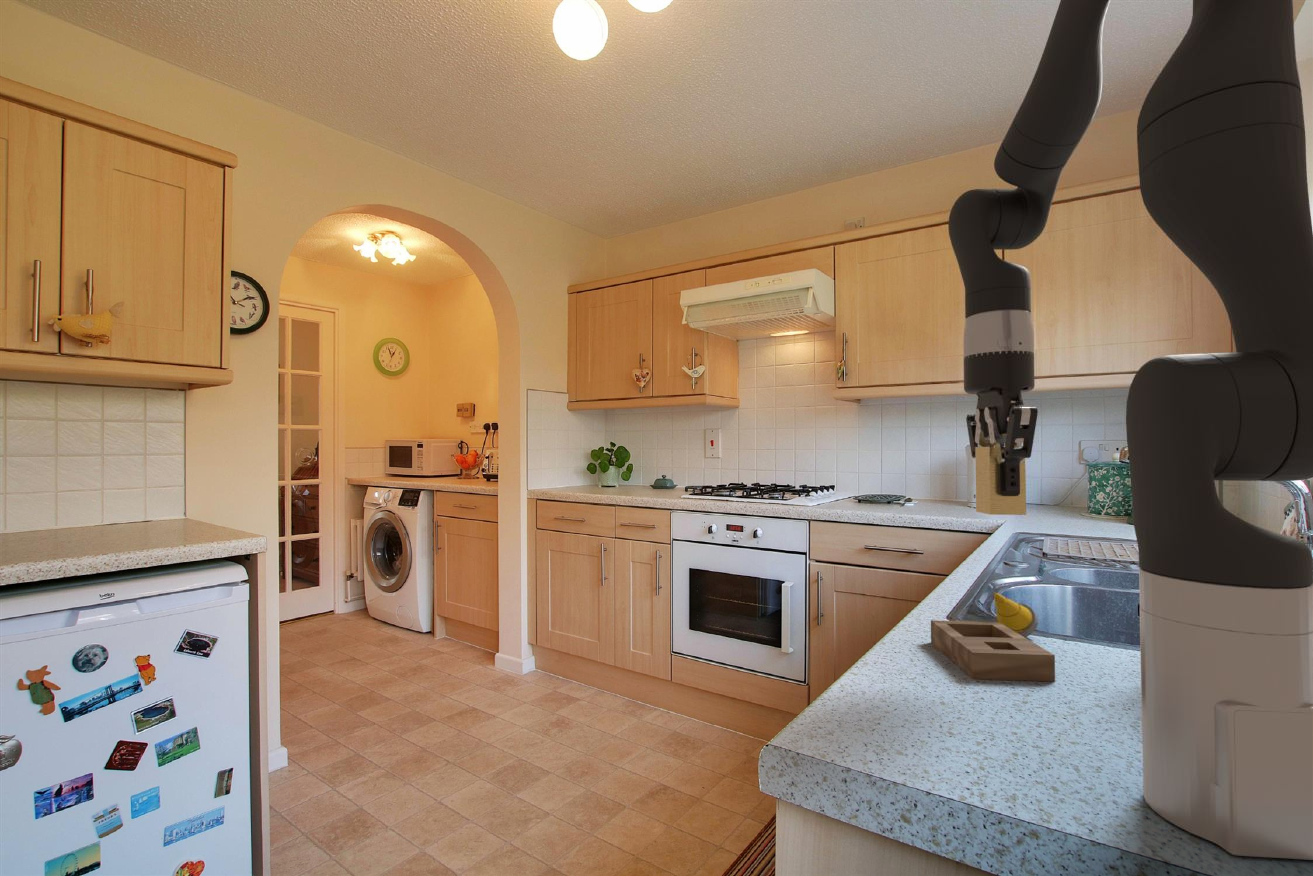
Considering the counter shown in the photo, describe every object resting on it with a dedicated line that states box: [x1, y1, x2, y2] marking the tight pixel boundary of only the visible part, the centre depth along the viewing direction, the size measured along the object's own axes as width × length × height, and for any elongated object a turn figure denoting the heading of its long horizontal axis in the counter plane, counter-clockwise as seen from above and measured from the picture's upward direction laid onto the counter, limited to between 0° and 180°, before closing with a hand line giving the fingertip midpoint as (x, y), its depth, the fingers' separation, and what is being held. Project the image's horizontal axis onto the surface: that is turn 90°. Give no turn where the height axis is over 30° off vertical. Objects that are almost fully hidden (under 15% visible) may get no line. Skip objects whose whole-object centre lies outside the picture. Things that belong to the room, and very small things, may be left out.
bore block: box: [930, 619, 1056, 683], centre depth 78 cm, size 14×9×3 cm, turn 175°
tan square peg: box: [974, 446, 1027, 516], centre depth 74 cm, size 4×4×8 cm
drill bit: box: [993, 591, 1039, 638], centre depth 87 cm, size 5×5×10 cm
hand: (999, 494), depth 74 cm, fingers closed on tan square peg, 4 cm apart
